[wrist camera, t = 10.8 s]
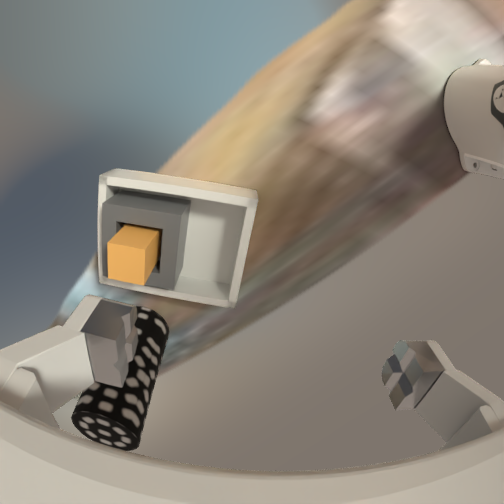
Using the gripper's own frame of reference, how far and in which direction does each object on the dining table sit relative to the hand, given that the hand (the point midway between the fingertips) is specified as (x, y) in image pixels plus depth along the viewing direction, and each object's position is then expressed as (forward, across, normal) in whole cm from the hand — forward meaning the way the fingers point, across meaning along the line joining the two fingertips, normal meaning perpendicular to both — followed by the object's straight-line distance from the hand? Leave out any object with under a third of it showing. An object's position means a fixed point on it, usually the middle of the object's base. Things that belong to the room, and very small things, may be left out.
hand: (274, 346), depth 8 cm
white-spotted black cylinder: (+29, +12, +26) cm, 41 cm away
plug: (+26, +11, +9) cm, 29 cm away
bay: (+29, +8, +9) cm, 31 cm away
